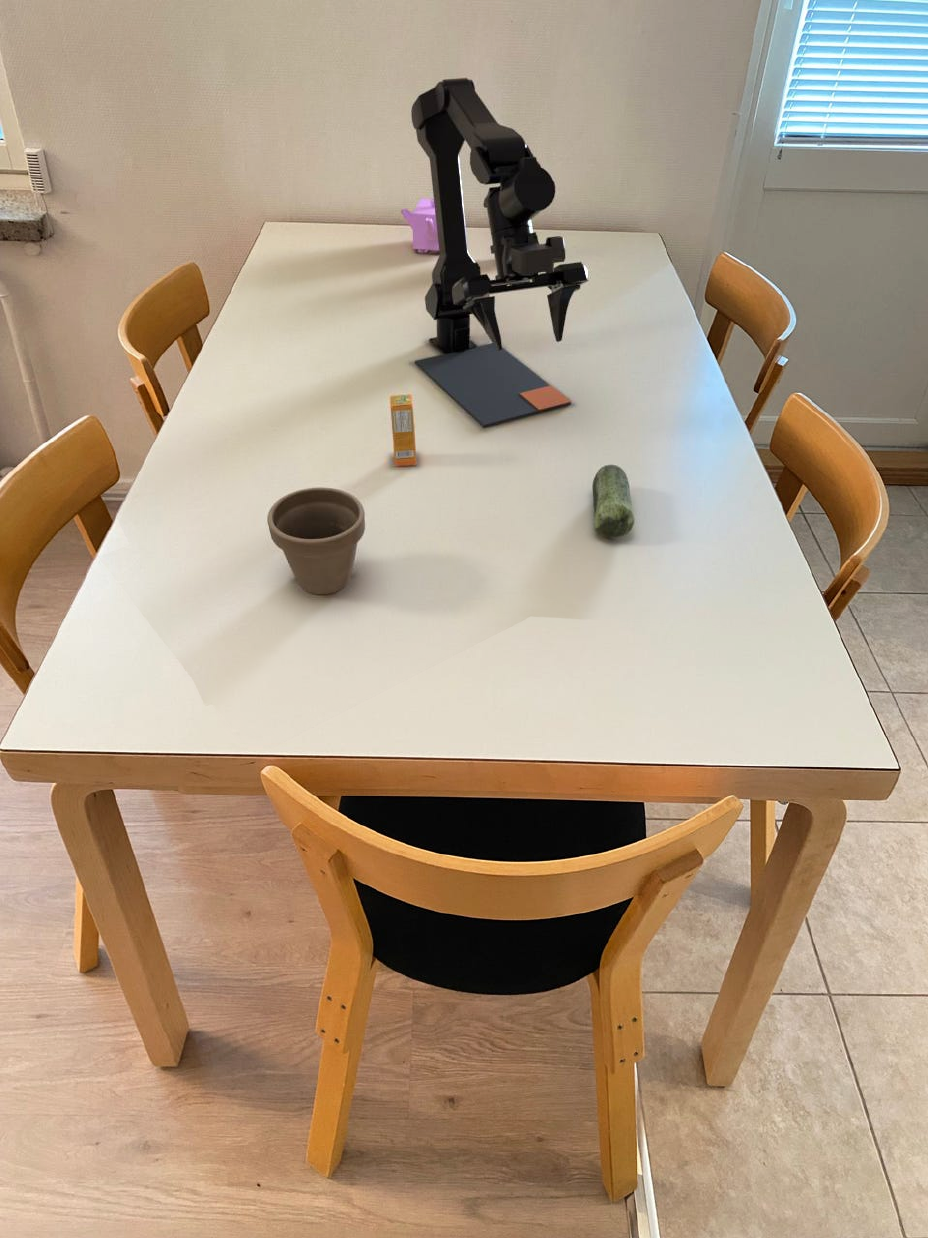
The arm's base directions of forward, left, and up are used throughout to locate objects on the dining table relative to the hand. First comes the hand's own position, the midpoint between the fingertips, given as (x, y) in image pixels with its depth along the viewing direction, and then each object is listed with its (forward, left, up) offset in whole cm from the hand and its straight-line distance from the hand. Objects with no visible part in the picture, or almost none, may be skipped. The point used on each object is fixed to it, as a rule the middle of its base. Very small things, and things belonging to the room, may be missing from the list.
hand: (529, 345), depth 137 cm
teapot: (-75, +23, -15) cm, 79 cm away
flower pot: (+18, -40, -15) cm, 47 cm away
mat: (-17, +4, -15) cm, 23 cm away
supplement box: (-2, -19, -15) cm, 24 cm away
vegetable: (+23, 0, -15) cm, 28 cm away
